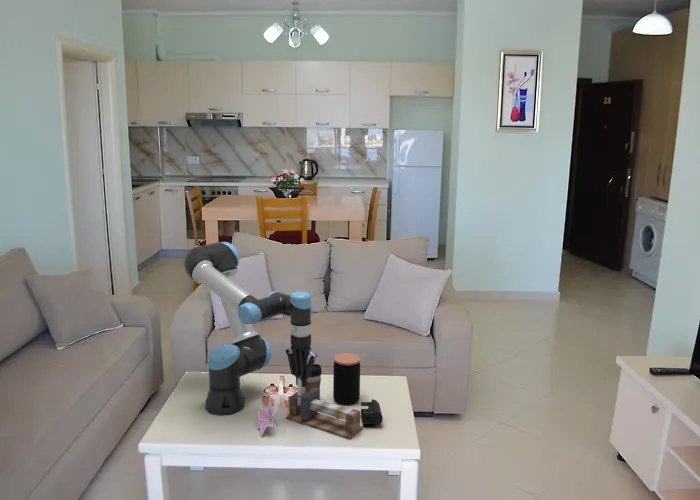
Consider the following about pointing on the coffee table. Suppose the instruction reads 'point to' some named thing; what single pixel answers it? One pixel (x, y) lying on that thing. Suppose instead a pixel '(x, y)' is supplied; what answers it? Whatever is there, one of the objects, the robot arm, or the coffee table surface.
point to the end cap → (371, 414)
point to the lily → (266, 418)
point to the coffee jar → (346, 378)
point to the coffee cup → (314, 378)
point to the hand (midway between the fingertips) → (301, 393)
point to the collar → (305, 403)
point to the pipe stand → (326, 417)
